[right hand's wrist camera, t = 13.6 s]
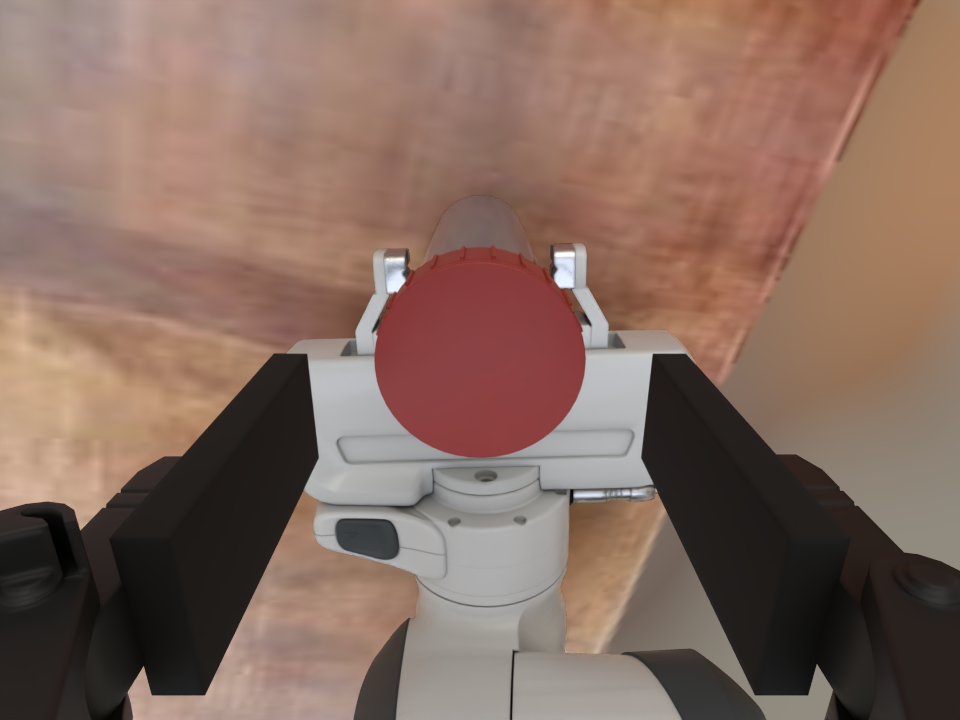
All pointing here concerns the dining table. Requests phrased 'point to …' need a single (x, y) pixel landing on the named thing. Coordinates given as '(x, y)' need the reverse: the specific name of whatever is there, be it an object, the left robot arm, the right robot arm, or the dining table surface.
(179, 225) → the dining table surface
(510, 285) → the lid
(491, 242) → the bottle
